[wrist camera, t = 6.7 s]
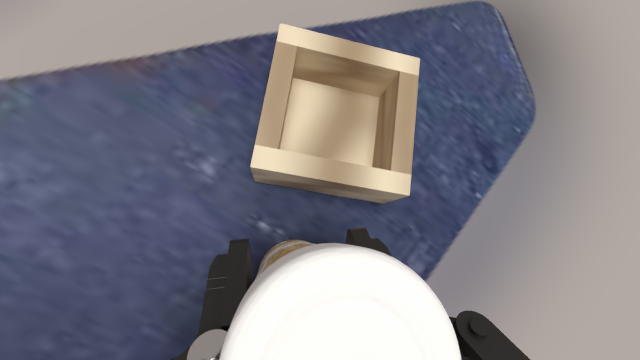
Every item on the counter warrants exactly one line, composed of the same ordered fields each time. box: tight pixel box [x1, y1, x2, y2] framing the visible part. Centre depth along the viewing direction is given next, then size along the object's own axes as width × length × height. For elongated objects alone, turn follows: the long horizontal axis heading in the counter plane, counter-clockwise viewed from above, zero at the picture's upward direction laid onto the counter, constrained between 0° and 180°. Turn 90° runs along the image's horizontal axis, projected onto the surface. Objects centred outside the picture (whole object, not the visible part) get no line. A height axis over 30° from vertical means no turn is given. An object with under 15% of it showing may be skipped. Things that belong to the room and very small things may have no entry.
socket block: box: [250, 23, 420, 204], centre depth 18 cm, size 9×9×4 cm
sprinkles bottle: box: [219, 240, 461, 360], centre depth 11 cm, size 5×5×13 cm
